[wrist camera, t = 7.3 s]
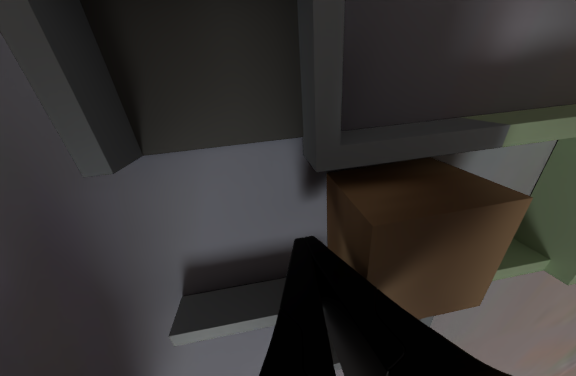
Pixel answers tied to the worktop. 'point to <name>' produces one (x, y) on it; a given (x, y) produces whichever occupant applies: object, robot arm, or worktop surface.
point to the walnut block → (422, 231)
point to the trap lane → (255, 114)
